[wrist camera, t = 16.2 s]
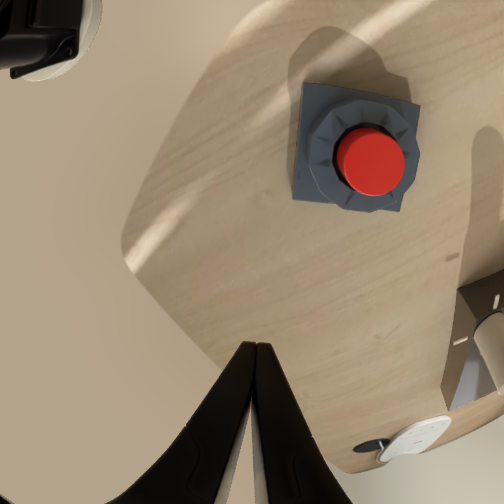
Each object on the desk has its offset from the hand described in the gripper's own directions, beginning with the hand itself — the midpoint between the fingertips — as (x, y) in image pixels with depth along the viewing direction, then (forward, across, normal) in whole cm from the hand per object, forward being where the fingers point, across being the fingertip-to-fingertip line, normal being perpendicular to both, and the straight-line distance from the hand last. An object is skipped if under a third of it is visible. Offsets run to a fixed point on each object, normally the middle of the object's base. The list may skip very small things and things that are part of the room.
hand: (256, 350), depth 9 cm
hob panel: (+12, -27, +11) cm, 31 cm away
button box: (+12, -5, -4) cm, 14 cm away
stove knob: (+8, -20, +7) cm, 23 cm away
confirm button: (+9, -5, -4) cm, 11 cm away
